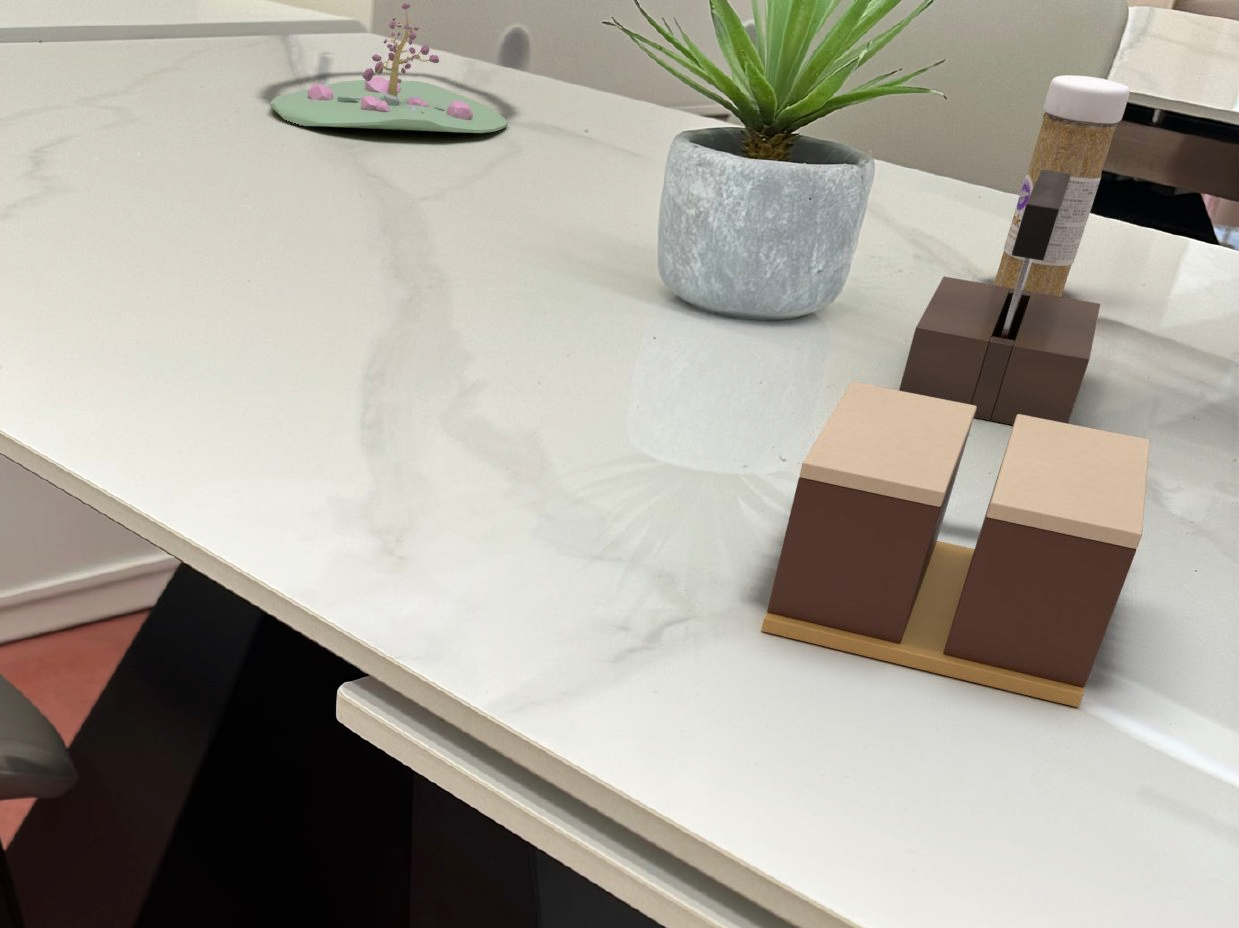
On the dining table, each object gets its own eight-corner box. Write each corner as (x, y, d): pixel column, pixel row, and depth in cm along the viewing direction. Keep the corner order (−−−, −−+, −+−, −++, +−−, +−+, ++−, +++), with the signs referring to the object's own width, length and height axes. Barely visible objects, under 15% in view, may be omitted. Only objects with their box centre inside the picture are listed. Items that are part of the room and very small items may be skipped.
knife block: (924, 345, 97) (943, 276, 95) (1077, 374, 95) (1100, 303, 92) (895, 402, 88) (915, 327, 86) (1064, 435, 86) (1089, 359, 83)
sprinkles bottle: (972, 300, 106) (1037, 72, 98) (1033, 300, 107) (1102, 74, 99) (1010, 322, 103) (1081, 87, 95) (1072, 322, 104) (1148, 89, 96)
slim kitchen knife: (984, 361, 95) (1041, 169, 89) (1012, 366, 95) (1071, 173, 89) (965, 410, 88) (1026, 203, 81) (995, 416, 87) (1059, 209, 81)
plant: (270, 78, 152) (274, -33, 146) (489, 94, 153) (500, -15, 148) (269, 134, 132) (273, 8, 126) (521, 152, 133) (535, 28, 128)
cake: (815, 527, 73) (853, 377, 69) (1094, 588, 69) (1150, 435, 66) (760, 631, 64) (799, 466, 60) (1078, 708, 60) (1142, 539, 56)
